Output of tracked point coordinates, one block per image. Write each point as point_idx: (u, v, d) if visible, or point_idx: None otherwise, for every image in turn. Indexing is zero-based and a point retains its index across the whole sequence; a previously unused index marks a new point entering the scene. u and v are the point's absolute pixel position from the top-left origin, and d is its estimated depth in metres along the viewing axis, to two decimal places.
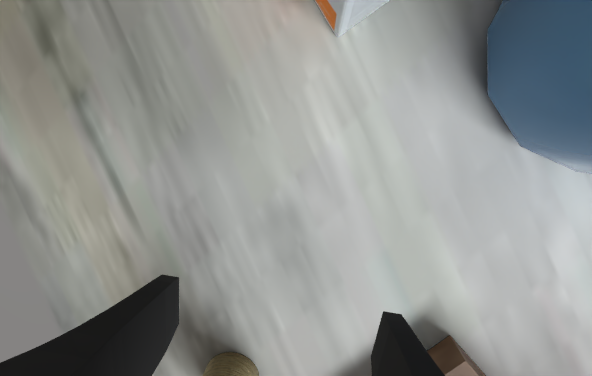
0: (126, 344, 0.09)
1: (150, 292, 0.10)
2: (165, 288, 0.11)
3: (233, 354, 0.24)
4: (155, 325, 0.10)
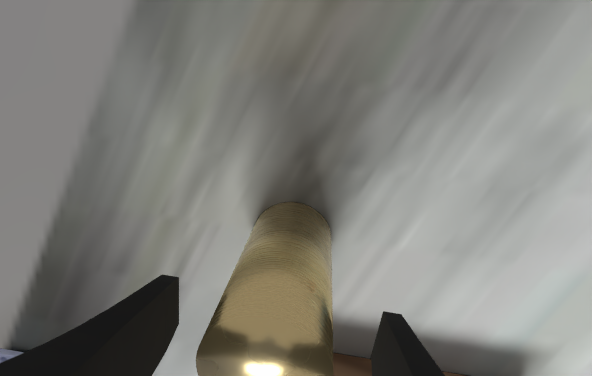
0: (126, 344, 0.09)
1: (150, 292, 0.10)
2: (165, 288, 0.11)
3: (325, 221, 0.16)
4: (155, 325, 0.10)
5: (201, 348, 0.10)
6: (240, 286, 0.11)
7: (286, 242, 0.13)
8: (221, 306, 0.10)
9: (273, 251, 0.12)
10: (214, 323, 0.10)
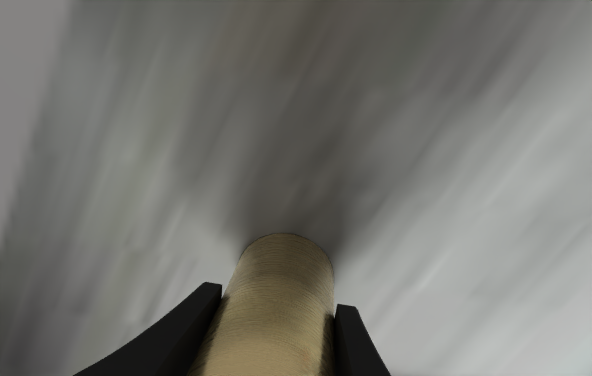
0: (182, 354, 0.09)
1: (199, 300, 0.10)
2: (212, 296, 0.10)
3: (325, 257, 0.13)
4: (204, 333, 0.10)
5: None
6: None
7: (274, 300, 0.10)
8: None
9: (254, 316, 0.09)
10: None
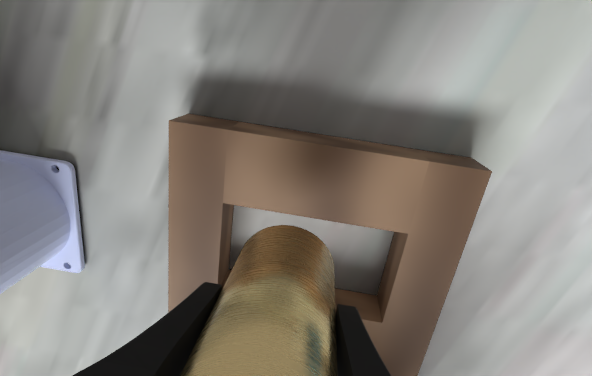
0: (182, 354, 0.09)
1: (199, 300, 0.10)
2: (212, 296, 0.10)
3: (324, 245, 0.13)
4: None
5: None
6: (200, 362, 0.07)
7: (269, 285, 0.10)
8: None
9: (250, 300, 0.09)
10: None
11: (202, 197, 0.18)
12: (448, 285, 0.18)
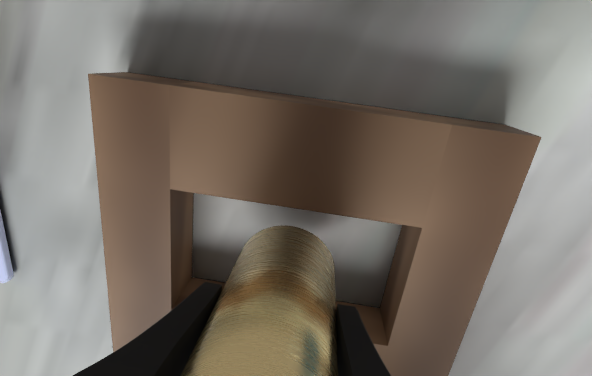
0: (182, 354, 0.09)
1: (199, 300, 0.10)
2: (212, 296, 0.10)
3: (324, 245, 0.13)
4: None
5: None
6: (200, 362, 0.07)
7: (269, 285, 0.10)
8: None
9: (250, 300, 0.09)
10: None
11: (142, 181, 0.13)
12: (476, 296, 0.14)
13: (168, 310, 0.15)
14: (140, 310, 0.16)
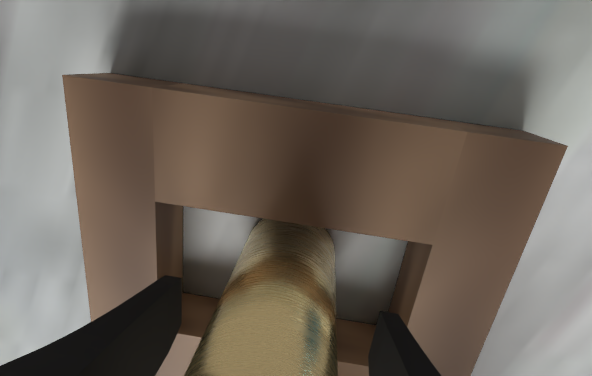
0: (130, 345, 0.09)
1: (153, 293, 0.10)
2: (168, 289, 0.11)
3: (325, 230, 0.14)
4: (158, 326, 0.10)
5: None
6: (219, 325, 0.09)
7: (276, 263, 0.11)
8: (197, 352, 0.08)
9: (260, 275, 0.10)
10: None
11: (125, 193, 0.12)
12: (491, 319, 0.13)
13: None
14: None
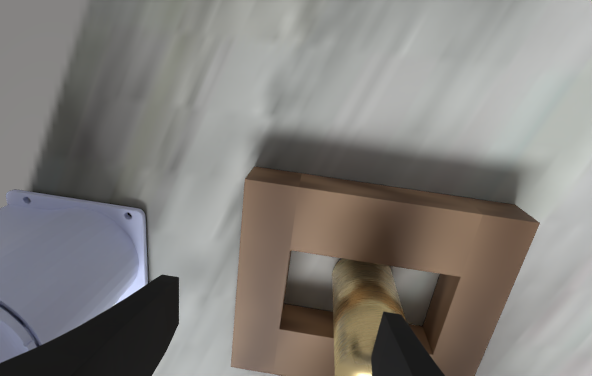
0: (126, 344, 0.09)
1: (150, 292, 0.10)
2: (165, 288, 0.11)
3: None
4: (155, 325, 0.10)
5: (338, 369, 0.15)
6: (353, 327, 0.16)
7: (371, 290, 0.18)
8: (344, 341, 0.16)
9: (364, 298, 0.18)
10: (345, 353, 0.15)
11: (271, 245, 0.20)
12: (496, 321, 0.20)
13: (277, 330, 0.22)
14: (256, 330, 0.22)
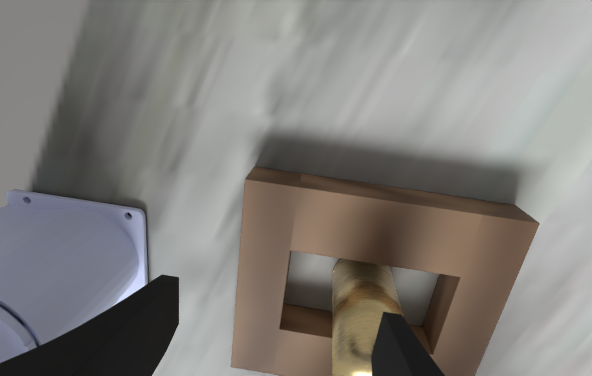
0: (126, 344, 0.09)
1: (150, 292, 0.10)
2: (165, 288, 0.11)
3: None
4: (155, 325, 0.10)
5: (336, 367, 0.15)
6: (351, 325, 0.16)
7: (370, 289, 0.18)
8: (342, 339, 0.16)
9: (363, 297, 0.18)
10: (342, 352, 0.15)
11: (271, 245, 0.20)
12: (495, 321, 0.20)
13: (277, 330, 0.22)
14: (256, 330, 0.22)
